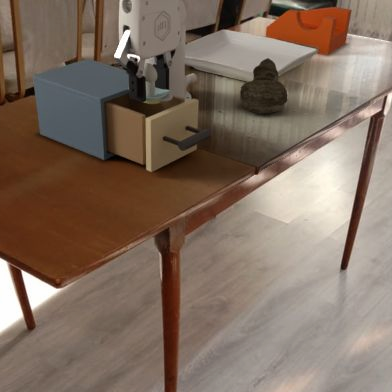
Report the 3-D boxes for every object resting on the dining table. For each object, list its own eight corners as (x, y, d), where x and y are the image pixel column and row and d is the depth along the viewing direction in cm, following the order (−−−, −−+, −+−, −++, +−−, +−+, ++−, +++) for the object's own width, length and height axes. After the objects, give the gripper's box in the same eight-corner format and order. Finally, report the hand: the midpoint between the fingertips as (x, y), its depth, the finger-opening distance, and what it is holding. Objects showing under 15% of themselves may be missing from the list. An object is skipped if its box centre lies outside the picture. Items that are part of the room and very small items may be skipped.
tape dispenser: (345, 43, 169) (351, 9, 164) (327, 55, 161) (333, 19, 156) (285, 31, 176) (289, -2, 171) (265, 42, 168) (268, 7, 162)
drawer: (219, 157, 110) (222, 107, 104) (174, 181, 103) (175, 128, 97) (132, 126, 119) (131, 78, 113) (85, 146, 112) (81, 96, 106)
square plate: (268, 93, 138) (270, 75, 136) (165, 68, 148) (165, 51, 146) (317, 63, 156) (320, 46, 153) (222, 42, 166) (223, 26, 163)
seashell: (306, 74, 130) (266, 63, 134) (287, 52, 119) (243, 40, 124) (284, 128, 132) (245, 115, 137) (263, 110, 122) (221, 97, 126)
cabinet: (155, 137, 118) (154, 79, 111) (104, 160, 110) (100, 99, 103) (92, 114, 125) (88, 58, 118) (40, 134, 117) (32, 75, 110)
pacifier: (143, 91, 109) (124, 100, 105) (143, 52, 105) (123, 60, 101) (180, 99, 107) (161, 109, 102) (181, 60, 103) (162, 69, 98)
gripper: (127, -17, 86) (131, 115, 98) (203, -33, 96) (198, 88, 108) (88, -26, 89) (97, 103, 101) (165, -41, 100) (165, 78, 112)
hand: (149, 94), depth 105 cm, fingers closed on pacifier, 5 cm apart
